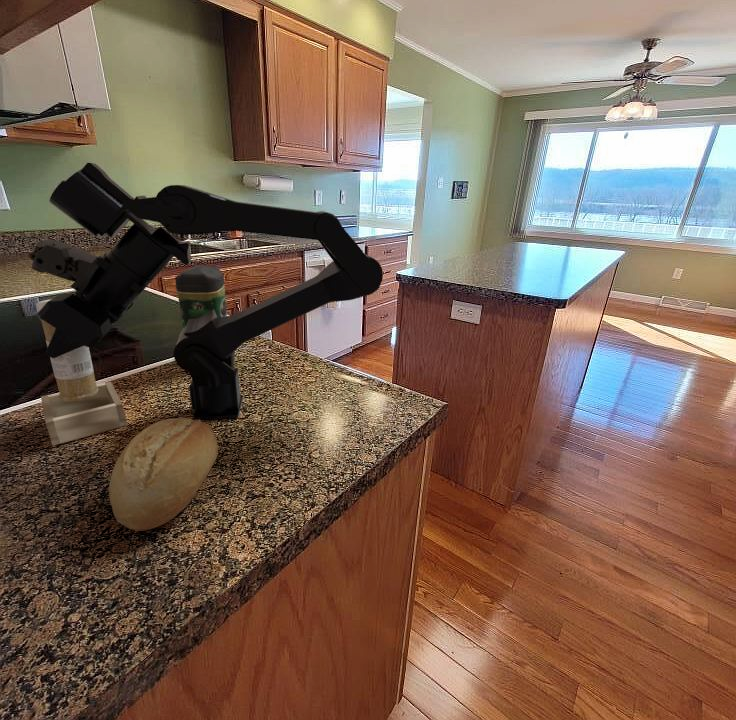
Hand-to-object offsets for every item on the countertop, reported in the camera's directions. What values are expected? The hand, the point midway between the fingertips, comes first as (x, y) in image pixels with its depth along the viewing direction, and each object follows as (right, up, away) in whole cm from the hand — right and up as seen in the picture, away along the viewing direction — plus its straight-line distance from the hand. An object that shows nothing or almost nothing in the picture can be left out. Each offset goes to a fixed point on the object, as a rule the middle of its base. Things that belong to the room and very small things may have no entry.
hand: (56, 349), depth 53 cm
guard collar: (+1, -10, +5) cm, 11 cm away
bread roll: (+19, -16, -7) cm, 26 cm away
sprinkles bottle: (+1, -7, +3) cm, 7 cm away
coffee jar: (+10, -2, +27) cm, 29 cm away
